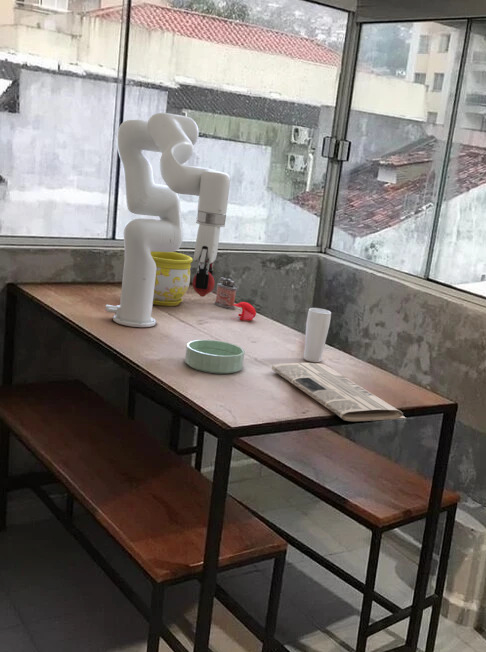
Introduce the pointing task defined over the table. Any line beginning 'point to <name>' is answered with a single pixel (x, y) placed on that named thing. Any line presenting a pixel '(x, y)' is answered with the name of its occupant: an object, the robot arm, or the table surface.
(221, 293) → the lighter
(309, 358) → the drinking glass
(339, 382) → the newspaper
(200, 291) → the onion
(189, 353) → the bowl
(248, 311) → the red toy figurine
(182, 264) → the flowerpot
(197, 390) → the table surface
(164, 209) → the robot arm
